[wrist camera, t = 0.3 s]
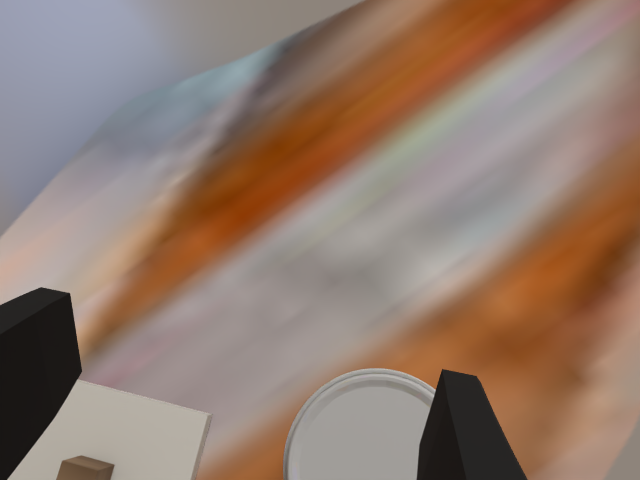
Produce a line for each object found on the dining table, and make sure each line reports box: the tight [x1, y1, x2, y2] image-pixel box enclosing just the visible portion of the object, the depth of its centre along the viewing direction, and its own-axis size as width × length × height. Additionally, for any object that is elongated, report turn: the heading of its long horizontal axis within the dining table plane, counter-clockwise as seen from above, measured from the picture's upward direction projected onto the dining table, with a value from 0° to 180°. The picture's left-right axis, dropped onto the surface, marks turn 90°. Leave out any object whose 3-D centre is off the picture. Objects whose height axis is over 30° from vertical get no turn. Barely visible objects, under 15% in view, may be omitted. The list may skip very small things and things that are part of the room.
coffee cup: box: [283, 368, 436, 480], centre depth 31 cm, size 9×9×12 cm
